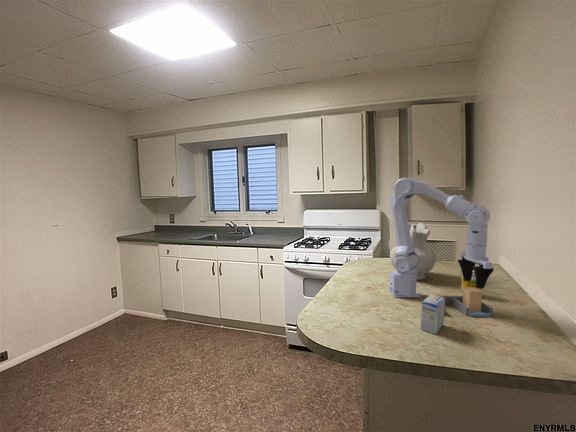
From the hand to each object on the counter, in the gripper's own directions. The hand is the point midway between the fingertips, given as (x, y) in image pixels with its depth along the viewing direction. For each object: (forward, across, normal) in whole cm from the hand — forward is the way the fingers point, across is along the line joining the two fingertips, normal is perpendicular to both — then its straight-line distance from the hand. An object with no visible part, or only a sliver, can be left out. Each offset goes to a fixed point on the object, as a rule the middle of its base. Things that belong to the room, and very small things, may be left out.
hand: (473, 284), depth 107 cm
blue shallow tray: (+9, 0, +4) cm, 10 cm away
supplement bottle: (+9, +15, -7) cm, 19 cm away
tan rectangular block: (+9, 0, 0) cm, 9 cm away
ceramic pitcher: (+9, +38, +6) cm, 40 cm away
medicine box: (+9, -13, +19) cm, 25 cm away
